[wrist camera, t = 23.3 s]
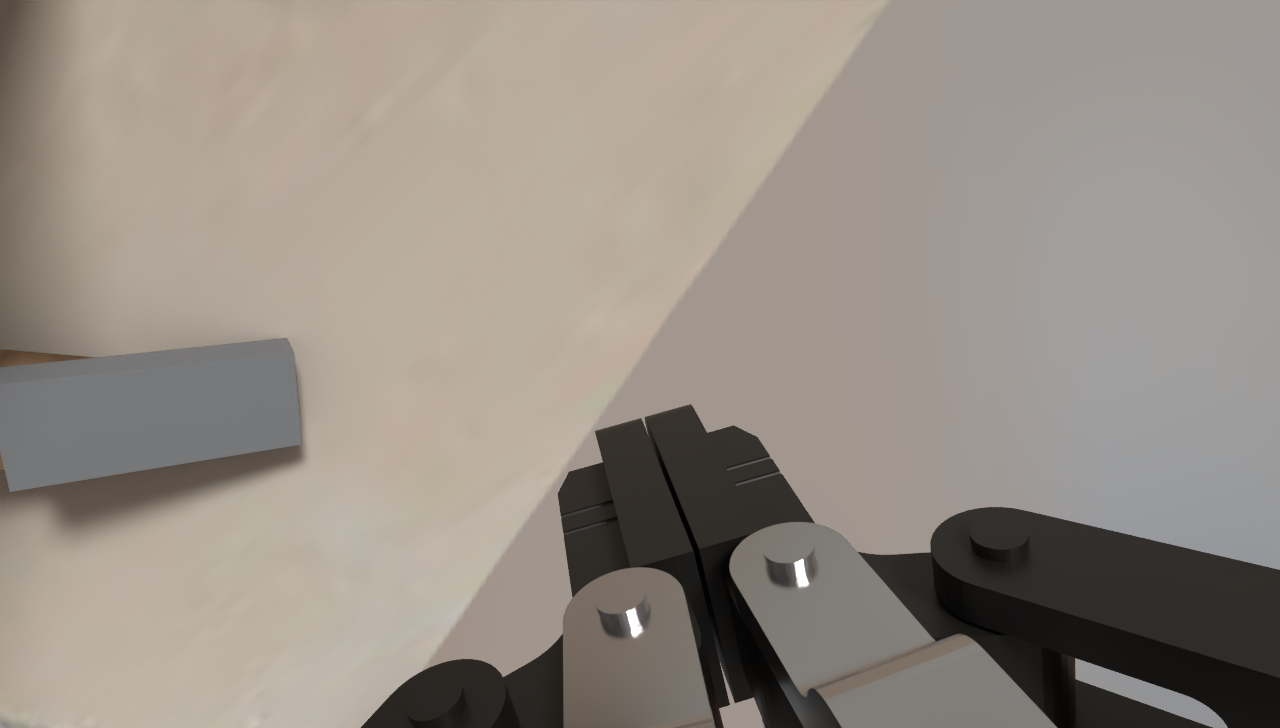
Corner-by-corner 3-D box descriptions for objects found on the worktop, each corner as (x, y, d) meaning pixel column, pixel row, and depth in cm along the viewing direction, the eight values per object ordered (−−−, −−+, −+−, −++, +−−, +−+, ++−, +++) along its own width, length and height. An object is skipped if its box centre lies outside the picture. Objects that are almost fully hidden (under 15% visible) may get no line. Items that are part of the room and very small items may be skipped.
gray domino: (294, 427, 44) (15, 469, 38) (286, 338, 42) (-9, 368, 36) (301, 444, 42) (9, 492, 36) (293, 352, 40) (-16, 386, 34)
